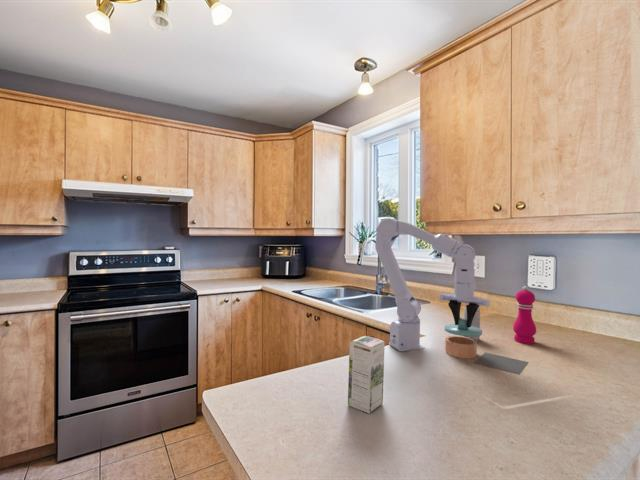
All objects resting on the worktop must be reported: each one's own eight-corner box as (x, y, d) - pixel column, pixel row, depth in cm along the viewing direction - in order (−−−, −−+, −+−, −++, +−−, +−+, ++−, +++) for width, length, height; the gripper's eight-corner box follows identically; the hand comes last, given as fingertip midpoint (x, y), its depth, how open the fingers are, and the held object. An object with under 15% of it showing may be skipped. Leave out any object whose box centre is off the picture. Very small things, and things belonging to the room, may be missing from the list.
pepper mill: (539, 345, 119) (541, 288, 118) (516, 343, 120) (518, 287, 120) (531, 339, 126) (532, 285, 125) (509, 337, 127) (511, 284, 127)
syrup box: (361, 396, 79) (362, 334, 79) (383, 404, 76) (385, 340, 75) (347, 405, 75) (348, 340, 75) (370, 415, 71) (371, 346, 71)
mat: (473, 364, 100) (473, 362, 100) (485, 353, 109) (485, 352, 109) (519, 376, 92) (519, 374, 92) (528, 363, 101) (528, 362, 101)
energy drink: (476, 338, 126) (477, 306, 125) (481, 343, 120) (482, 309, 120) (461, 337, 126) (462, 305, 126) (466, 342, 121) (466, 308, 120)
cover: (460, 337, 101) (461, 325, 101) (437, 327, 111) (437, 316, 111) (490, 335, 104) (490, 322, 104) (464, 325, 115) (465, 314, 115)
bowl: (458, 360, 103) (458, 346, 103) (439, 350, 111) (439, 337, 111) (482, 358, 105) (483, 343, 105) (462, 348, 114) (462, 335, 114)
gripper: (492, 284, 106) (491, 327, 106) (446, 279, 115) (445, 319, 116) (486, 286, 100) (484, 332, 101) (437, 281, 110) (436, 323, 110)
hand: (463, 325), depth 108 cm, fingers closed on cover, 3 cm apart
